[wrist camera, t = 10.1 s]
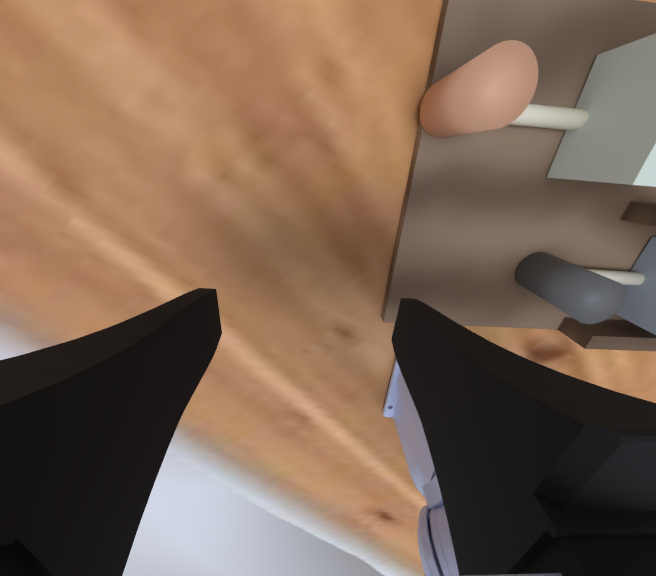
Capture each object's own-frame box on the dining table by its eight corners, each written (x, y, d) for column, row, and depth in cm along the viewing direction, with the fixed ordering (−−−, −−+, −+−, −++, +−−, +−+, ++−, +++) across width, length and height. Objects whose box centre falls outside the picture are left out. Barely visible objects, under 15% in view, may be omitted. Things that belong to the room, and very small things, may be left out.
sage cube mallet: (633, 184, 17) (748, 194, 12) (408, 166, 16) (445, 169, 11) (699, 67, 14) (875, 24, 10) (434, 35, 13) (494, -28, 9)
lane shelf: (684, 329, 24) (737, 354, 21) (381, 316, 22) (391, 341, 19) (918, 48, 15) (1067, 21, 12) (446, -15, 13) (484, -65, 10)
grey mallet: (672, 312, 22) (766, 352, 17) (501, 304, 21) (553, 344, 16) (727, 242, 19) (855, 268, 14) (534, 228, 18) (606, 252, 13)
